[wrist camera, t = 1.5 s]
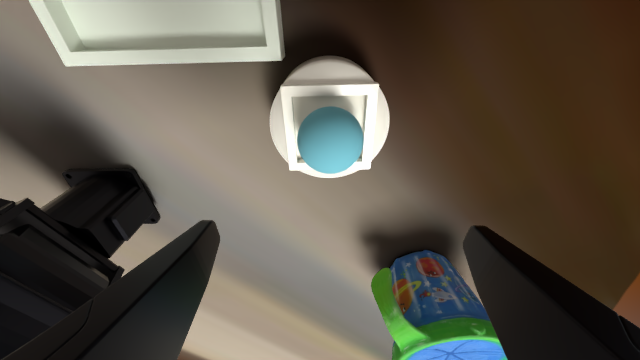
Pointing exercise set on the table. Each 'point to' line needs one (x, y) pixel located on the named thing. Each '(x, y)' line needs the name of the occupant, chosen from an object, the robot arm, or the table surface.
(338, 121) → the ball
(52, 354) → the robot arm
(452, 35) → the table surface
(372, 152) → the cup
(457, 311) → the snack cup
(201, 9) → the tray
